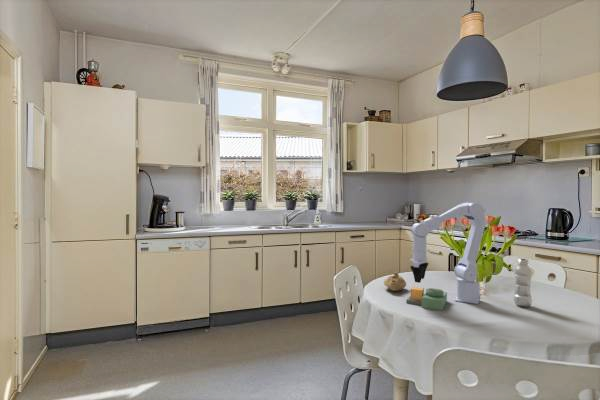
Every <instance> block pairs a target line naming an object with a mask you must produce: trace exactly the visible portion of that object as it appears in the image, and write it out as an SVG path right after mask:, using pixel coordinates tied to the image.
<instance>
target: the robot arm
mask: <svg viewBox="0 0 600 400" xmlns="http://www.w3.org/2000/svg"><path fill="white" fill-rule="evenodd" d="M485 211H486V209H485V208H484V206H483V205H482V204H481V203H479V202H469V201H468V202H467V201H465V202H462V203H460V204H458V205H456V206H453V208H451V209H449V210H447V211H446V212H443V213H442V214H440V215H437V214H431V215H429V217H428V218H426V219H422V220H420V222H416V223H413V225H412V226H411V228H410V232H411V234H412V258H410V262H412V263H413V265H410V270H411V271H412V274H413V278H414V283H418V284H419V283H421V281H422V280H425V279H424V278H425V277H426V270H427V268H428V266H429V262H428V261H427V236H428V235H429V233H431V232H432V231H434V230H437V229H439V228H440V227H442V226H443V223H444V222H447V221H449V220H451V219H454V218H456V217H458V216H463V217H464V218H466V220H468V221H469V223H470V224H471V225H470V229H469V232H468V237H467V241H466V243H465V248H464V251H463V254H462V257H461V258H460V259H459V260H458V262H457V264H456V265H455V266H454V269H453V271H454V272H453V273H454V275H455V276H456V297H455V298H454V301H455V302H461V303H467V304H475V305H476V304H477V305H478V304H480V300H481V294H480V293H481V292H480V291H481V289H480V287H481V286H480V281H476V280H477V278H478V276H479V273H478V269H479V268H478V264H477V262H476V260H477V257H478V253H479V250H480V245H481V242H482V239H483V235H484V231H485V228H486V224H487V221H486V217H485Z"/></svg>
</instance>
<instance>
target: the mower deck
mask: <svg viewBox="0 0 600 400" xmlns="http://www.w3.org/2000/svg"><path fill="white" fill-rule="evenodd" d="M447 302H448V293H447V292H445V291H444V290H443V289H439V288H432V287H431V288H430V287H429V288H426V289H425V292H424V296H423V297H422V301H417V300H411V294H410V295H409V297H408V298H406V301H405V303H406V304H411V305H416V306H421V308H422V309H423V308H424V309H430V310H431V309H432V310H437V311H443V309H444V307H445V306H446V304H447Z"/></svg>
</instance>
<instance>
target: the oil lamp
mask: <svg viewBox="0 0 600 400" xmlns="http://www.w3.org/2000/svg"><path fill="white" fill-rule="evenodd" d="M383 285H384V286H386V287H387V288H388V290H390V291H393V292H400V291H401V290H403V289H404V288H406V287H407V282H406V281H405V279H404V278H403V277H402V276H400V274H399V271H395V272H394V273H393V275H391V276H388V277H387V278H386V279H384V281H383Z"/></svg>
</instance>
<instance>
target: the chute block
mask: <svg viewBox="0 0 600 400" xmlns="http://www.w3.org/2000/svg"><path fill="white" fill-rule="evenodd" d="M424 294H425V287H419V286H413V287H412V288H411V289H410V295H411V300H417V301H422V297H423V296H424Z"/></svg>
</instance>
